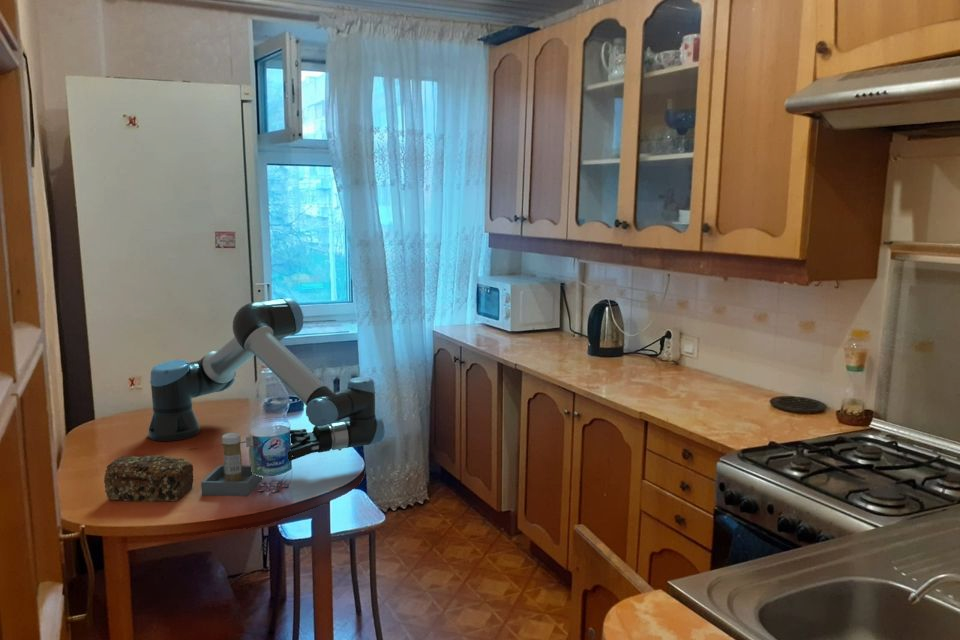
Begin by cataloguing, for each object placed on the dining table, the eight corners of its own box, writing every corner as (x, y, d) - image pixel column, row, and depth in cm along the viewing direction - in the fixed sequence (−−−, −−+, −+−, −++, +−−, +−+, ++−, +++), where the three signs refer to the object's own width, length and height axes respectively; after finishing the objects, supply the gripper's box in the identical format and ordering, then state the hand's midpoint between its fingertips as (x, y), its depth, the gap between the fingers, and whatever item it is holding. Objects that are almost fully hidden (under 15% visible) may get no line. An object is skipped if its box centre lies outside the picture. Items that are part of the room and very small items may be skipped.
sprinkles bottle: (243, 479, 188) (241, 431, 186) (242, 486, 184) (239, 436, 182) (225, 481, 187) (222, 432, 185) (223, 487, 183) (221, 438, 181)
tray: (201, 495, 180) (201, 482, 179) (220, 477, 192) (219, 465, 191) (248, 495, 180) (247, 482, 179) (263, 477, 191) (263, 465, 191)
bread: (104, 502, 176) (101, 464, 174) (127, 486, 186) (124, 450, 184) (177, 504, 175) (175, 465, 173) (196, 487, 186) (193, 451, 184)
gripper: (343, 464, 186) (261, 478, 176) (317, 437, 207) (243, 448, 197) (342, 437, 185) (260, 450, 175) (316, 412, 206) (241, 423, 196)
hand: (250, 449), depth 186 cm, fingers open, 13 cm apart
